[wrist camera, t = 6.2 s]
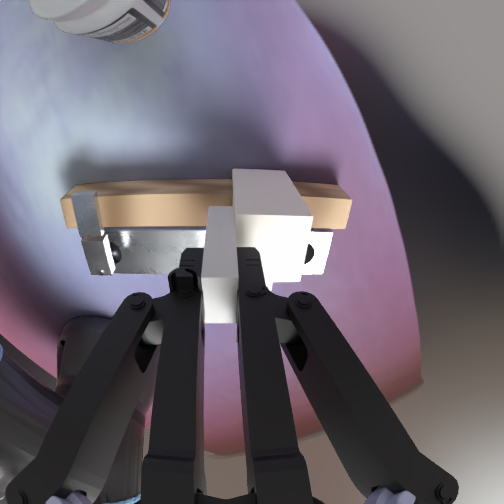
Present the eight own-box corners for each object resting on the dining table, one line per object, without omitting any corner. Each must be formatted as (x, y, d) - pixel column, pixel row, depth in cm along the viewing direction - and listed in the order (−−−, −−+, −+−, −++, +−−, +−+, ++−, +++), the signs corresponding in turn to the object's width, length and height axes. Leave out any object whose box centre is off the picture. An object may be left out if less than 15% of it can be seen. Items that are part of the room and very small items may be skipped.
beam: (81, 211, 21) (66, 228, 18) (76, 184, 19) (60, 199, 17) (332, 211, 23) (345, 229, 21) (338, 185, 22) (352, 199, 19)
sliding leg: (229, 253, 24) (232, 319, 18) (232, 168, 20) (236, 214, 14) (274, 253, 25) (291, 318, 19) (285, 170, 21) (313, 216, 14)
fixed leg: (100, 259, 22) (91, 275, 20) (83, 184, 18) (70, 195, 16) (119, 259, 23) (111, 275, 21) (105, 182, 19) (93, 194, 17)
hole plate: (95, 266, 24) (92, 272, 23) (84, 226, 22) (80, 231, 21) (319, 267, 27) (322, 274, 26) (329, 226, 24) (333, 232, 23)
